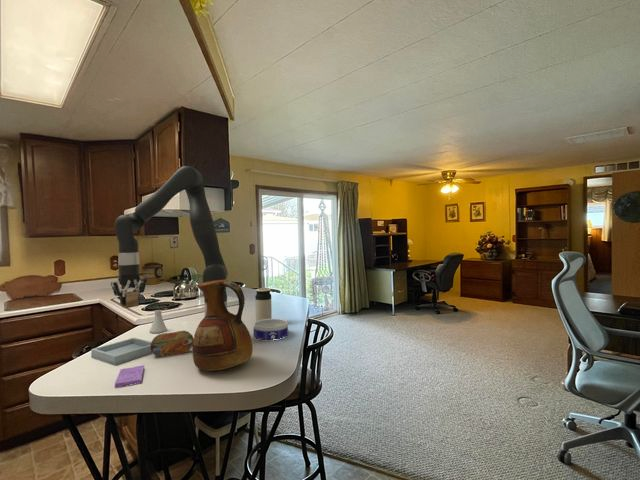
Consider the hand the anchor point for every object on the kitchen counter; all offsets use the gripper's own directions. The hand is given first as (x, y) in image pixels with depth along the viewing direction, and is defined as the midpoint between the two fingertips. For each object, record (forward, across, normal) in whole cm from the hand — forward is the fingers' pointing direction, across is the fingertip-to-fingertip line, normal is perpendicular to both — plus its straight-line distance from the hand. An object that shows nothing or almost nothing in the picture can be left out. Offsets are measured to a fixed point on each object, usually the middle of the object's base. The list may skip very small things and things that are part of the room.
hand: (130, 304), depth 135 cm
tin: (+18, +2, -24) cm, 30 cm away
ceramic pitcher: (+18, +4, -50) cm, 54 cm away
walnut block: (+1, 0, 0) cm, 1 cm away
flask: (+17, +18, +9) cm, 26 cm away
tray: (+17, -7, -9) cm, 20 cm away
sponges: (+18, -18, -32) cm, 40 cm away
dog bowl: (+18, +39, -42) cm, 60 cm away
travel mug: (+18, +52, -27) cm, 61 cm away
